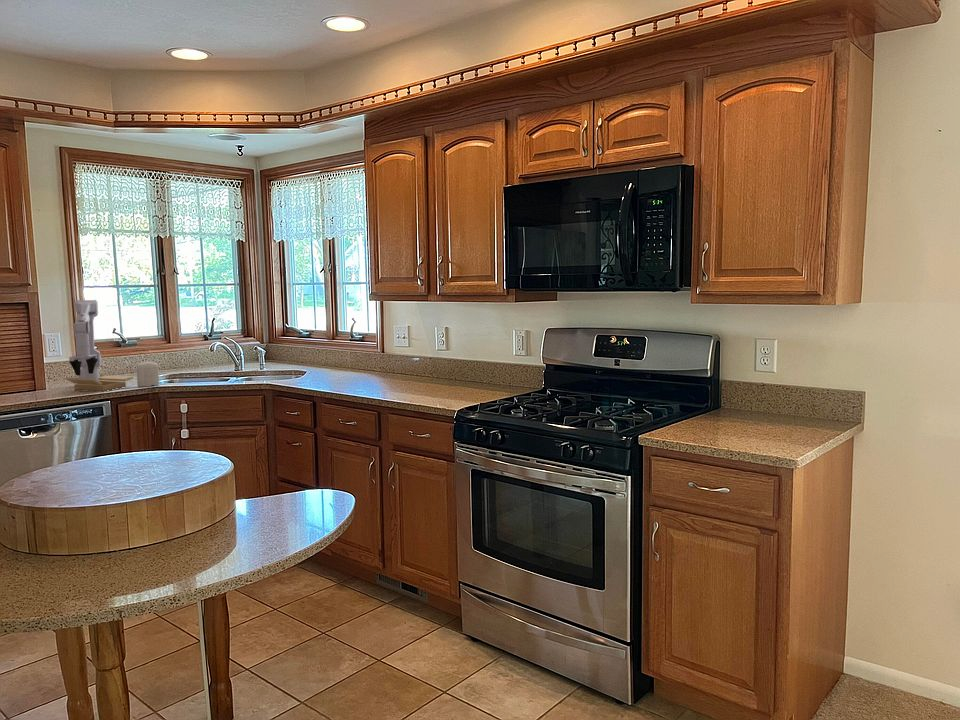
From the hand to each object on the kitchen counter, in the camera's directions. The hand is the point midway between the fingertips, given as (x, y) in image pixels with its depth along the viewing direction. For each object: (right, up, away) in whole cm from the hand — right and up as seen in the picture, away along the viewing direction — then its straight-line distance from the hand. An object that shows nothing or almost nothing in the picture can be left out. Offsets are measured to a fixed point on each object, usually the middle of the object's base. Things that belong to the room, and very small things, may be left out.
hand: (84, 374), depth 357 cm
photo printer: (+22, -7, +20) cm, 30 cm away
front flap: (0, -3, 0) cm, 3 cm away
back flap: (+6, -2, +18) cm, 19 cm away
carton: (+3, -8, +9) cm, 12 cm away
